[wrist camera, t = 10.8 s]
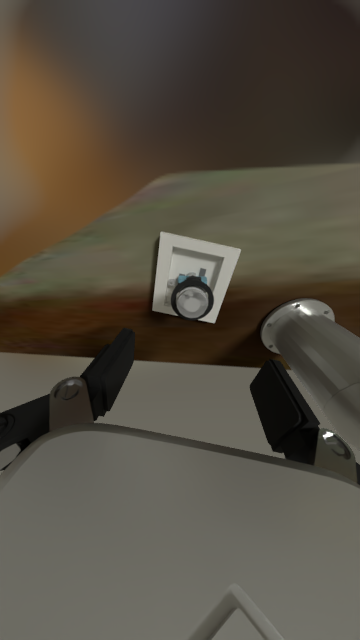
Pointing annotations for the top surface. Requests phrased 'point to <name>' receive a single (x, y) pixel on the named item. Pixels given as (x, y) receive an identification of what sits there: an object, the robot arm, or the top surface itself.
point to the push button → (191, 296)
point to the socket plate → (192, 269)
